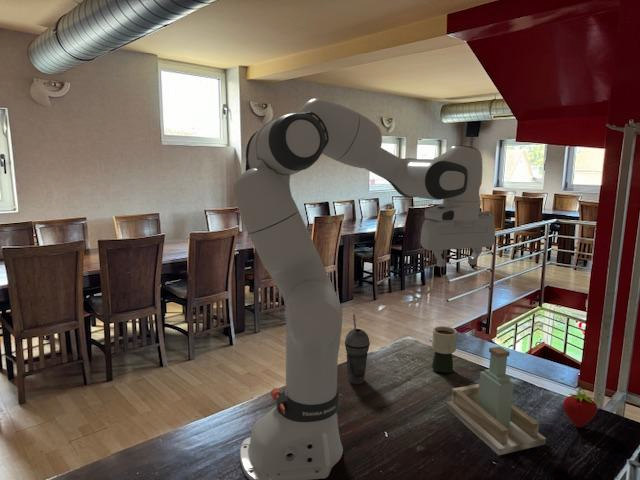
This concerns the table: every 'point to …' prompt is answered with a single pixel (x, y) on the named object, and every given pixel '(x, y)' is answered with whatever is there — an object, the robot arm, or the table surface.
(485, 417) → the u rest
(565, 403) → the strawberry
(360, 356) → the beverage cup
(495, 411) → the pale green flat bottle
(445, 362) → the character mug
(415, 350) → the table surface
